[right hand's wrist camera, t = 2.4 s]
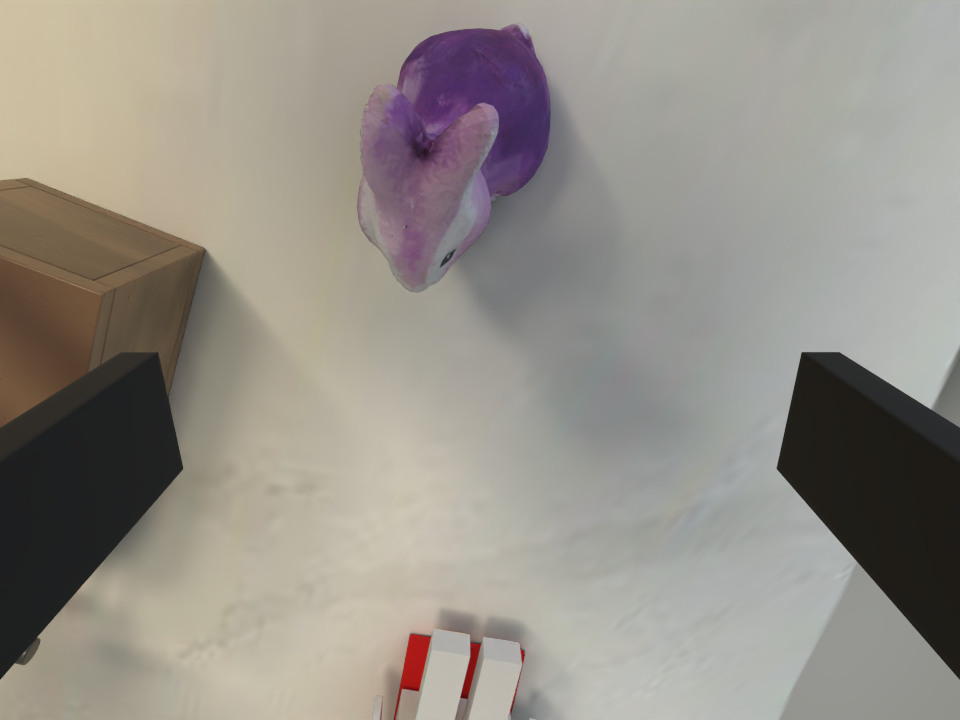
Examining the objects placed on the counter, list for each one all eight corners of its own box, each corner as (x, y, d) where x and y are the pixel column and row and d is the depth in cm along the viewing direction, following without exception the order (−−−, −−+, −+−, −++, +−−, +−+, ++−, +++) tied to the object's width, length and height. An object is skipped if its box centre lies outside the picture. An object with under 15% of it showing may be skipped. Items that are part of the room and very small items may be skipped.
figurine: (408, 255, 35) (360, 340, 21) (353, 69, 31) (251, 22, 17) (565, 215, 34) (623, 277, 20) (527, 20, 30) (567, -70, 16)
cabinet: (141, 507, 42) (40, 619, 32) (-12, 457, 40) (-164, 560, 31) (205, 248, 35) (102, 294, 25) (25, 177, 33) (-156, 198, 24)
